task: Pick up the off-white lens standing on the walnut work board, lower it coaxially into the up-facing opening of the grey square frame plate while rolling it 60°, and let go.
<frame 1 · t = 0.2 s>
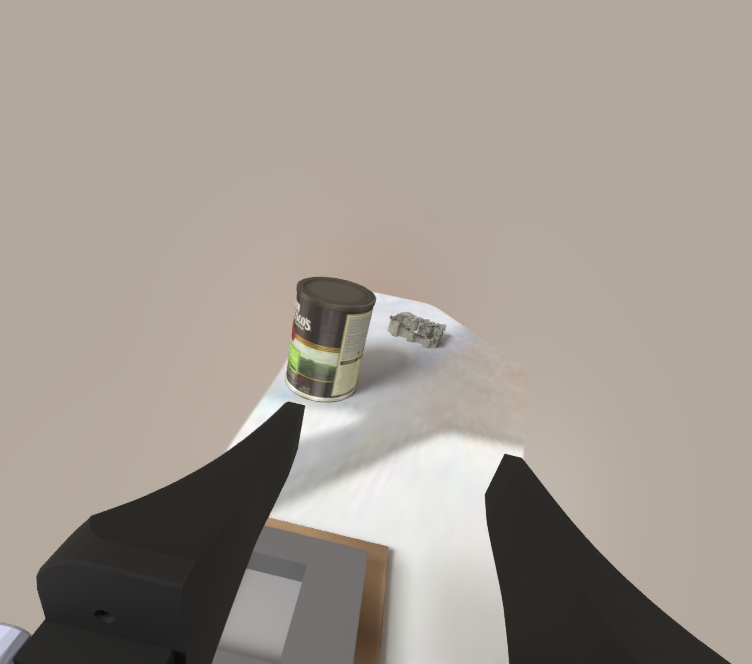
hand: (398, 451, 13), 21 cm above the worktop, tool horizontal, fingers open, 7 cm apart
grey square frame plate: (246, 625, 25), resting on work board
coffee can: (321, 382, 55), on the worktop
egg carton: (413, 337, 77), on the worktop
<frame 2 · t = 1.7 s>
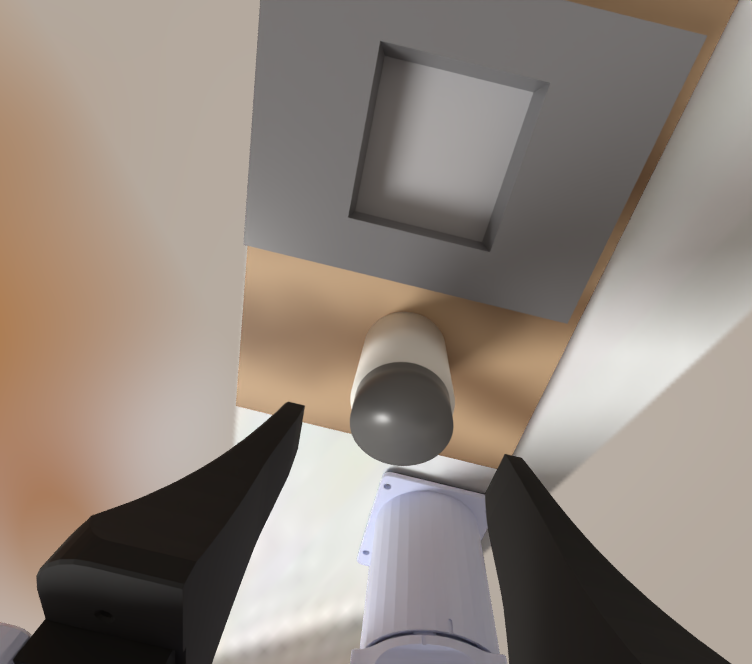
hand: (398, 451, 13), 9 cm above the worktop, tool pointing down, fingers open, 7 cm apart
lens: (404, 349, 20), point 1 cm above the worktop, touching work board
grey square frame plate: (436, 156, 16), resting on work board
work board: (422, 244, 19), on the worktop
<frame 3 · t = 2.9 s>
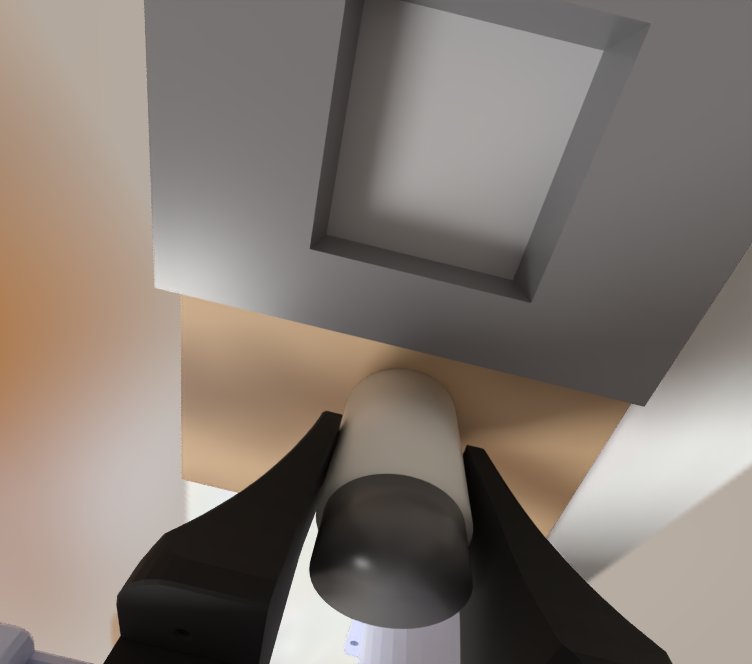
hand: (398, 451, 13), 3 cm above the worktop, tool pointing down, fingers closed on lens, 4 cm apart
lens: (400, 416, 15), point 1 cm above the worktop, touching gripper, work board
grey square frame plate: (445, 154, 11), resting on work board
work board: (424, 276, 14), on the worktop
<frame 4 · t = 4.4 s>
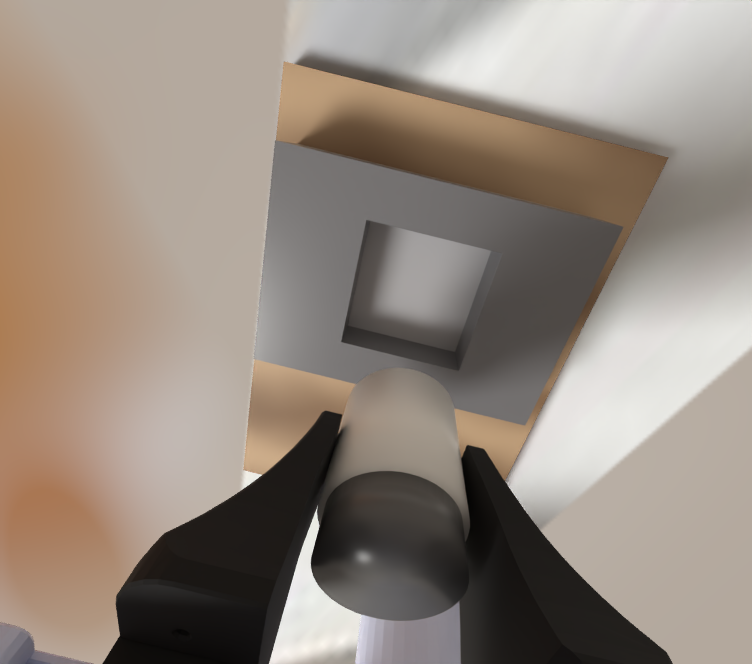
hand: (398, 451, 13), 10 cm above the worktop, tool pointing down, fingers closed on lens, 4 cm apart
lens: (399, 414, 15), point 7 cm above the worktop, touching gripper
grey square frame plate: (416, 281, 20), resting on work board
work board: (406, 342, 22), on the worktop
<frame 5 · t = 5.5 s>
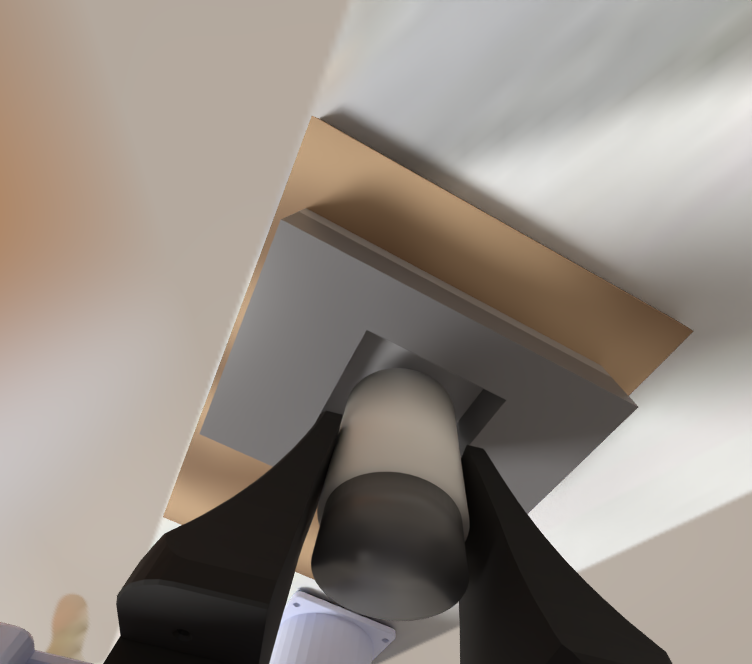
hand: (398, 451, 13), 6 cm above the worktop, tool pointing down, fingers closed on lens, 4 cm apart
lens: (399, 414, 15), point 3 cm above the worktop, touching gripper
grey square frame plate: (402, 380, 18), resting on work board
work board: (375, 430, 20), on the worktop
when the fingers open (5 cm above the worktop, at t = 6.2 s): lens stays where it is, resting on grey square frame plate.
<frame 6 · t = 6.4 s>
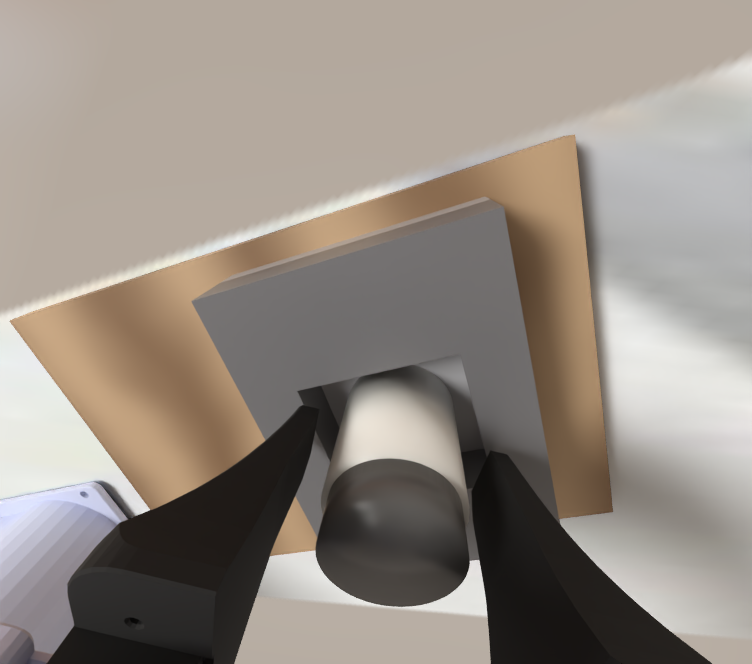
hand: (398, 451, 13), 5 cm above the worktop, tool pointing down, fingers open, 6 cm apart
lens: (399, 409, 16), point 2 cm above the worktop, touching grey square frame plate
grey square frame plate: (401, 393, 17), resting on work board
work board: (326, 407, 19), on the worktop
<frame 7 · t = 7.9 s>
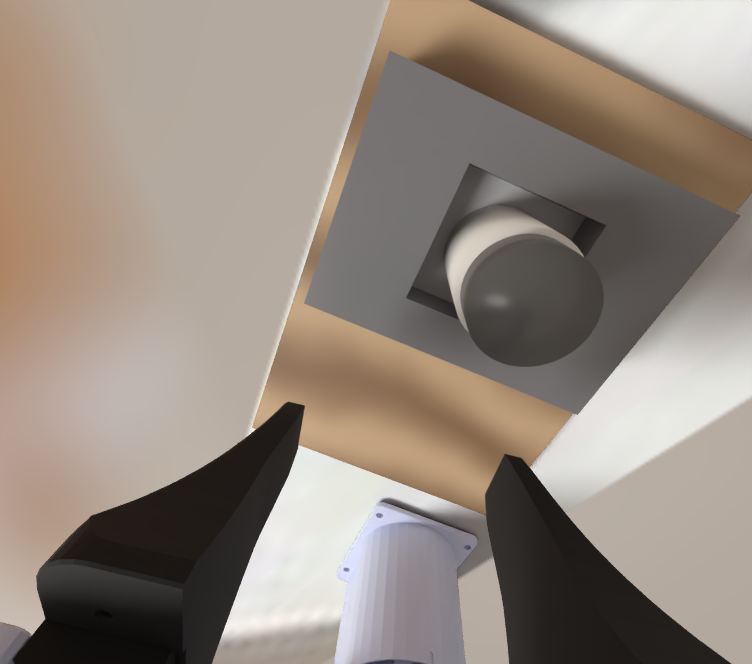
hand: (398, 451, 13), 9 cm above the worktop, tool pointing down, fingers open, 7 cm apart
lens: (492, 255, 17), point 2 cm above the worktop, touching grey square frame plate
grey square frame plate: (487, 247, 18), resting on work board
work board: (456, 314, 21), on the worktop
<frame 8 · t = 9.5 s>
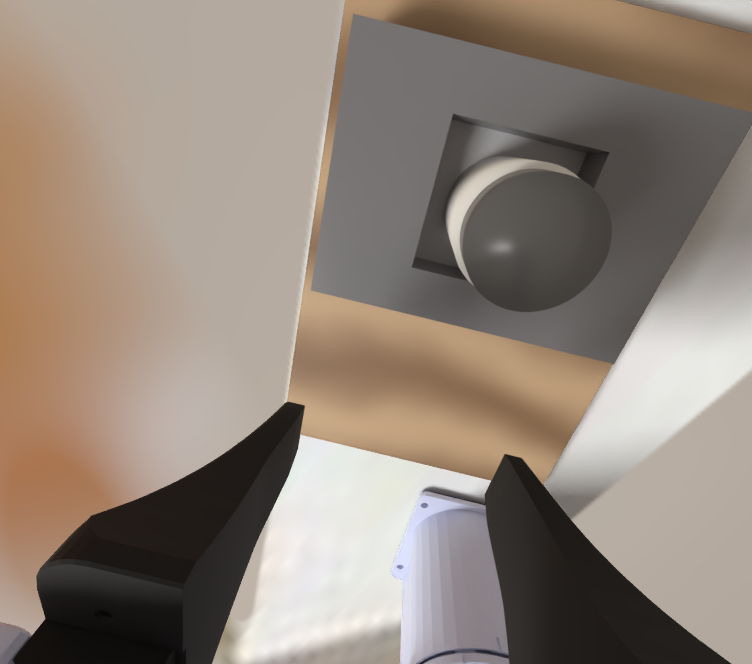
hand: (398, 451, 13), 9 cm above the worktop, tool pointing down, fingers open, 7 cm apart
lens: (495, 211, 17), point 2 cm above the worktop, touching grey square frame plate
grey square frame plate: (489, 205, 18), resting on work board
work board: (469, 282, 20), on the worktop
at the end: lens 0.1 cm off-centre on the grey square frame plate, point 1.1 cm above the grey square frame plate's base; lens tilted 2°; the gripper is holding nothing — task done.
